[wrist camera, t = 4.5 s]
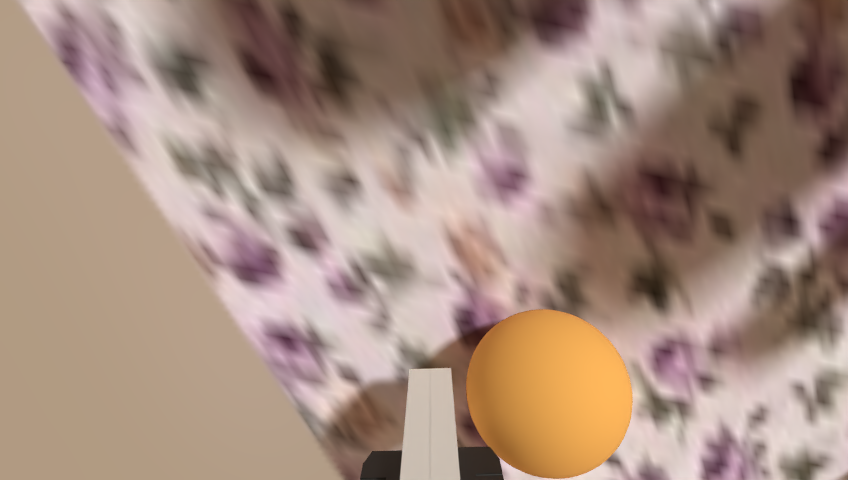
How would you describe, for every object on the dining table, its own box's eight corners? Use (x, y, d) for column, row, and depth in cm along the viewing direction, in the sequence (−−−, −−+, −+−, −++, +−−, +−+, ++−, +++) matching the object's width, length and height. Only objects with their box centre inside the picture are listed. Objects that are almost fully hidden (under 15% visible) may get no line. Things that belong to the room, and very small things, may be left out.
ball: (456, 292, 18) (467, 364, 13) (597, 281, 18) (669, 350, 12) (465, 414, 19) (479, 525, 14) (596, 405, 19) (661, 515, 14)
